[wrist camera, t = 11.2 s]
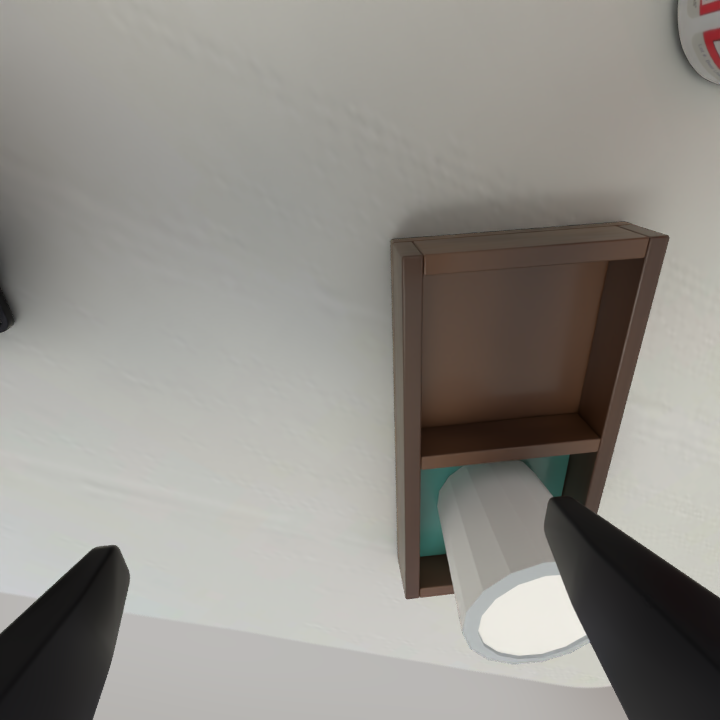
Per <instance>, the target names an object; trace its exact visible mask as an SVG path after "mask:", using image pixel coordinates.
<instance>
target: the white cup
mask: <svg viewBox="0 0 720 720" xmlns="http://www.w3.org/2000/svg"><path fill="white" fill-rule="evenodd" d="M552 497H553V496H552V494H551V493H550V492H549V491H548V489H547V488H546V487H545V486H544V484H543V483H542V482H541V481H540V479H539V478H538V477H537V476H536V474H535V473H534V472H533V471H532V470H531V469H530V468H529V467H528V466H527V465H526V464H525V463H524V462H522V461H519V460H512V461H503V462H493V463H484V464H474V465H464V466H462V467H461V468H460V469H458V470H457V471H456V472H454V473H453V474H452V475H450V476H449V477H448V479H447V480H446V482H445V483H444V485H443V486H442V488H441V489H440V491H439V497H438V504H437V508H438V513H439V518H440V523H441V528H442V533H443V538H444V543H445V548H446V553H447V558H448V563H449V568H450V573H451V579H452V584H453V589H454V594H455V599H456V604H457V609H458V614H459V619H460V624H461V629H462V633H463V635H464V637H465V639H466V641H467V643H468V645H469V648H470V649H471V650H473V651H474V652H476V653H478V654H479V655H481V656H483V657H484V658H486V659H488V660H491V661H497V662H503V663H509V664H523V663H534V662H543V661H546V660H550V659H553V658H556V657H559V656H563V655H566V654H569V653H572V652H573V651H575V650H577V649H579V648H581V647H582V646H584V645H586V644H588V643H589V642H590V641H589V639H588V637H587V635H586V633H585V631H584V629H583V627H582V625H581V623H580V621H579V619H578V617H577V615H576V613H575V610H574V608H573V606H572V604H571V601H570V599H569V596H568V594H567V591H566V589H565V586H564V583H563V581H562V578H561V576H560V573H559V570H558V568H557V565H556V562H555V560H554V557H553V554H552V552H551V549H550V547H549V544H548V541H547V539H546V536H545V532H544V520H545V515H546V510H547V504H548V501H549V499H550V498H552Z"/></svg>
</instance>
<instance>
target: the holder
mask: <svg viewBox="0 0 720 720" xmlns="http://www.w3.org/2000/svg"><path fill="white" fill-rule="evenodd" d="M668 241H669V236H668V235H665V234H662V233H659V232H655V231H652V230H649V229H646V228H643V227H640V226H636V225H633V224H631V223H628V222H613V223H600V224H587V225H573V226H560V227H547V228H534V229H521V230H508V231H495V232H481V233H468V234H455V235H442V236H429V237H416V238H402V239H392V240H391V241H390V242H391V286H392V330H393V374H394V418H395V462H396V506H397V550H398V562H399V567H400V572H401V578H402V583H403V588H404V593H405V598H406V599H413V598H419V596H420V597H421V598H422V597H431V596H439V595H447V594H454V589H453V584H452V579H451V573H450V568H449V563H448V558H447V553H446V548H445V543H444V538H443V533H442V528H441V523H440V518H439V513H438V508H437V504H438V497H439V491H440V489H441V488H442V486H443V485H444V483H445V482H446V480H447V479H448V477H449V476H450V475H452V474H453V473H454V472H456V471H457V470H458V469H460V468H461V467H462V466H464V465H474V464H484V463H493V462H503V461H512V460H519V461H522V462H524V463H525V464H526V465H527V466H528V467H529V468H530V469H531V470H532V471H533V472H534V473H535V474H536V476H537V477H538V478H539V479H540V481H541V482H542V483H543V484H544V486H545V487H546V488H547V489H548V491H549V492H550V493H551V494H552V496H553V497H558V496H570V497H572V498H574V499H575V500H577V501H578V502H580V503H581V504H583V505H584V506H586V507H587V508H589V509H590V510H592V511H593V512H595V513H596V514H597V512H598V508H599V504H600V500H601V497H602V493H603V489H604V485H605V481H606V478H607V474H608V470H609V466H610V462H611V458H612V455H613V451H614V447H615V443H616V439H617V436H618V432H619V428H620V424H621V420H622V417H623V413H624V409H625V405H626V401H627V397H628V394H629V390H630V386H631V382H632V378H633V375H634V371H635V367H636V363H637V359H638V356H639V352H640V348H641V344H642V340H643V336H644V333H645V329H646V325H647V321H648V317H649V314H650V310H651V306H652V302H653V298H654V295H655V291H656V287H657V283H658V279H659V275H660V272H661V268H662V264H663V260H664V256H665V253H666V249H667V245H668Z"/></svg>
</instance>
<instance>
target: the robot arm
mask: <svg viewBox="0 0 720 720" xmlns="http://www.w3.org/2000/svg"><path fill="white" fill-rule="evenodd" d="M0 320H1V322H2V323H0V333H1V332H4V331H6V330H7V329H9V328H10V327H11V326H12V325H13V324H14V318H13V315H12V313H11V310H10V308H9V306H8V304H7V301H6V299H5V297H4V295H3V292H2V290H1V288H0ZM544 532H545V536H546V539H547V541H548V544H549V547H550V549H551V552H552V554H553V557H554V560H555V562H556V565H557V568H558V570H559V573H560V576H561V578H562V581H563V583H564V586H565V589H566V591H567V594H568V596H569V599H570V601H571V604H572V606H573V608H574V610H575V613H576V615H577V617H578V619H579V621H580V623H581V625H582V627H583V629H584V631H585V633H586V635H587V637H588V639H589V641H590V643H591V645H592V647H593V649H594V651H595V653H596V655H597V657H598V659H599V661H600V663H601V665H602V667H603V669H604V671H605V673H606V675H607V677H608V679H609V681H610V683H611V685H612V687H613V689H614V691H615V693H616V695H617V697H618V699H619V701H620V703H621V705H622V707H623V709H624V711H625V713H626V715H627V717H628V719H629V720H720V598H719V597H718V596H716V595H715V594H713V593H712V592H711V591H709V590H708V589H706V588H705V587H703V586H702V585H700V584H699V583H697V582H696V581H694V580H693V579H691V578H690V577H689V576H687V575H686V574H684V573H683V572H681V571H680V570H678V569H677V568H675V567H674V566H672V565H671V564H669V563H668V562H667V561H665V560H664V559H662V558H661V557H659V556H658V555H656V554H655V553H653V552H652V551H650V550H649V549H647V548H646V547H644V546H643V545H642V544H640V543H639V542H637V541H636V540H634V539H633V538H631V537H630V536H628V535H627V534H625V533H624V532H622V531H621V530H620V529H618V528H617V527H615V526H614V525H612V524H611V523H609V522H608V521H606V520H605V519H603V518H602V517H600V516H599V515H598V514H596V513H595V512H593V511H592V510H590V509H589V508H587V507H586V506H584V505H583V504H581V503H580V502H578V501H577V500H575V499H574V498H572V497H570V496H558V497H552V498H550V499H549V501H548V504H547V510H546V515H545V520H544ZM129 582H130V574H129V570H128V567H127V565H126V563H125V560H124V558H123V556H122V554H121V551H120V549H119V548H118V547H117V546H116V545H108V546H99V547H95V548H94V549H92V550H91V551H90V552H88V553H87V554H86V555H85V556H84V557H83V558H82V559H81V560H80V561H79V562H78V563H77V564H75V565H74V566H73V567H72V568H71V569H70V570H69V571H68V572H67V573H66V574H65V575H64V576H62V577H61V578H60V579H59V580H58V581H57V582H56V583H55V584H54V585H53V586H52V587H50V588H49V589H48V590H47V591H46V592H45V593H44V594H43V595H42V596H41V597H40V598H39V599H37V600H36V601H35V602H34V603H33V604H32V605H31V606H30V607H29V608H28V609H27V610H26V611H25V612H24V613H22V614H21V615H20V616H19V617H18V618H17V619H16V620H15V621H14V622H13V623H11V624H10V625H9V626H8V627H7V628H6V629H5V630H4V631H3V632H2V633H1V634H0V720H93V717H94V714H95V711H96V708H97V705H98V702H99V699H100V696H101V693H102V690H103V687H104V684H105V680H106V678H107V674H108V671H109V668H110V665H111V661H112V657H113V653H114V649H115V645H116V640H117V636H118V631H119V627H120V623H121V618H122V614H123V609H124V605H125V600H126V596H127V591H128V587H129Z"/></svg>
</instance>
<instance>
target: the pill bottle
mask: <svg viewBox="0 0 720 720" xmlns="http://www.w3.org/2000/svg"><path fill="white" fill-rule="evenodd" d="M678 30H679V36H680V41H681V44H682V48H683V51H684V53H685V55H686V57H687V59H688V61H689V62H690V64H691V65H692V67H693V68H694V69H695V70H696V71H697V72H698V73H699V74H700V75H701V76H702V77H703V78H705V79H707V80H709V81H711V82H714V83H716V84H719V85H720V0H679V1H678Z"/></svg>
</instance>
